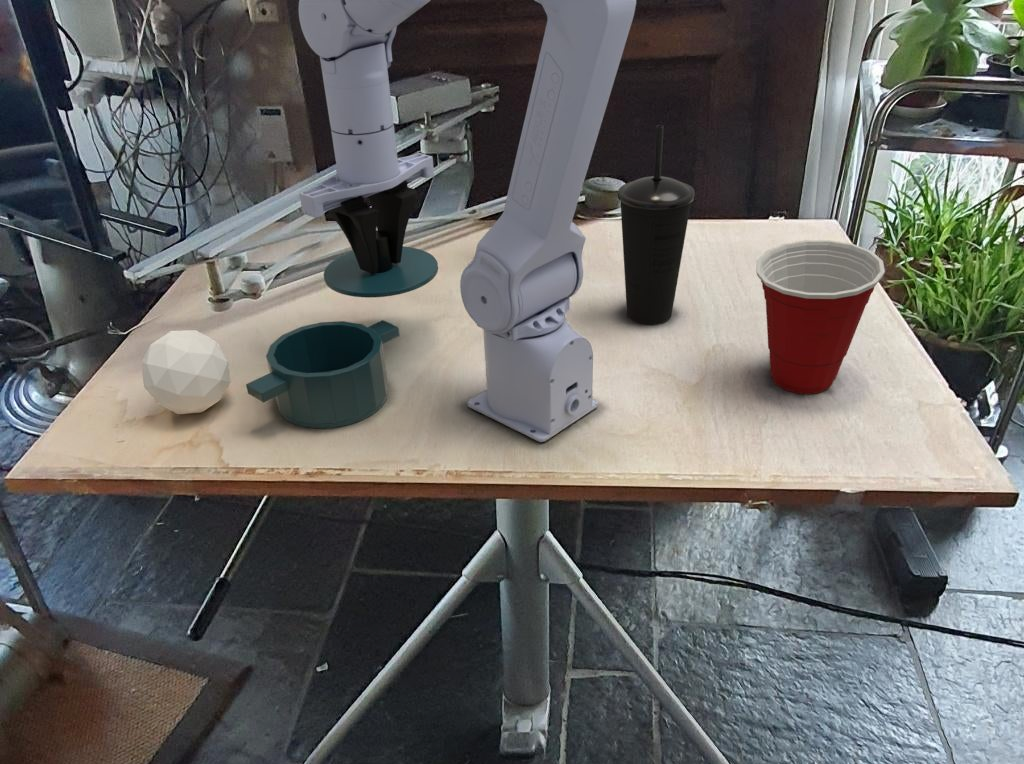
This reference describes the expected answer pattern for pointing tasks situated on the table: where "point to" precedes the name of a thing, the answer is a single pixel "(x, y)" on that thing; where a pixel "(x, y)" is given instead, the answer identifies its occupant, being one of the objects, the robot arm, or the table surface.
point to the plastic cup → (814, 308)
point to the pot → (327, 373)
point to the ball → (185, 371)
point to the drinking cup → (653, 240)
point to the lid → (381, 272)
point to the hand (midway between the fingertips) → (380, 265)
